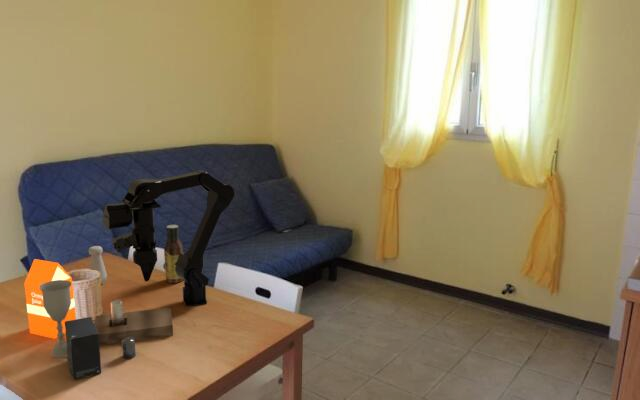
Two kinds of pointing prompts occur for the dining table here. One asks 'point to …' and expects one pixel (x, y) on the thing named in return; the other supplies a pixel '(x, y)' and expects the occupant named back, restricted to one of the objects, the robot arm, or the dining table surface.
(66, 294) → the chalice
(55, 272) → the orange juice
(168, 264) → the sauce bottle
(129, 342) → the short pin
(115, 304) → the long pin
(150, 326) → the pin board
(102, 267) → the salt shaker
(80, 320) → the small box
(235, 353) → the dining table surface
